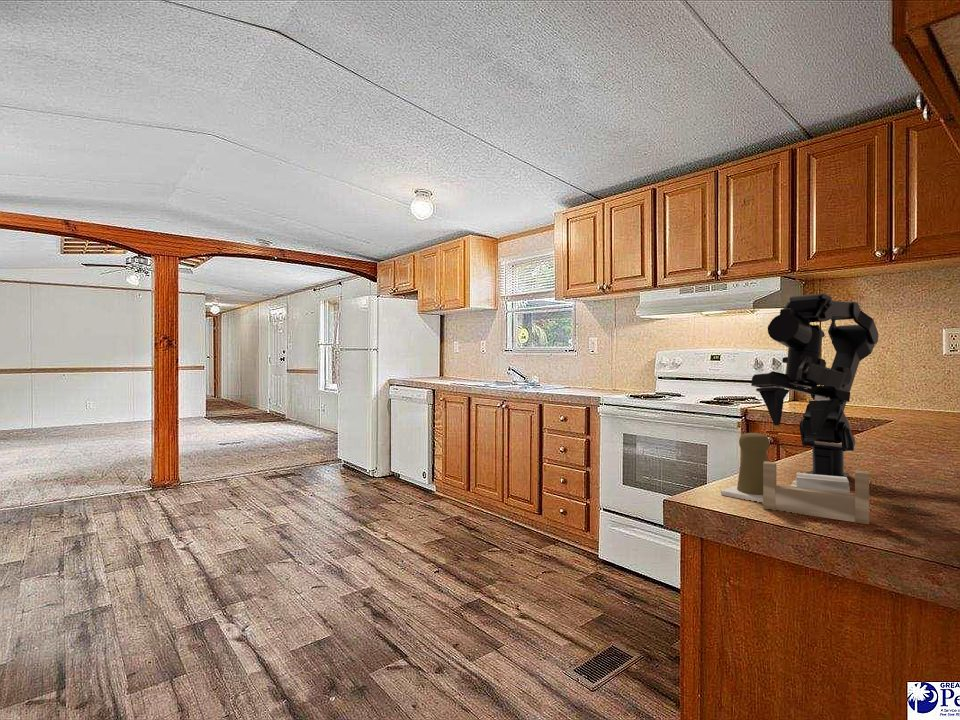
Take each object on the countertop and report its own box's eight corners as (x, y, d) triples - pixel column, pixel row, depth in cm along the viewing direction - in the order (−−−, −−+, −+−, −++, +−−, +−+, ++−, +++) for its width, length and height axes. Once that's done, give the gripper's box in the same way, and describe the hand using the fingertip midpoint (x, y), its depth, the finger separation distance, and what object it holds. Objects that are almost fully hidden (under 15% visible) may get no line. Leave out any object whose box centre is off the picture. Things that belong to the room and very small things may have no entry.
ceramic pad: (741, 487, 106) (741, 483, 106) (787, 495, 99) (787, 491, 99) (720, 494, 101) (720, 490, 101) (767, 504, 94) (767, 499, 94)
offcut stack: (793, 490, 103) (793, 471, 103) (849, 497, 97) (849, 477, 97) (790, 496, 98) (790, 476, 98) (848, 504, 93) (848, 483, 93)
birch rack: (765, 506, 93) (764, 461, 93) (869, 521, 84) (868, 471, 84) (763, 508, 91) (763, 463, 91) (869, 524, 82) (869, 473, 82)
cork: (732, 491, 100) (731, 433, 100) (742, 485, 104) (742, 430, 104) (767, 497, 96) (766, 436, 96) (776, 490, 100) (776, 433, 100)
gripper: (796, 339, 98) (788, 422, 95) (878, 359, 101) (872, 439, 99) (753, 346, 108) (745, 420, 106) (829, 364, 112) (822, 437, 110)
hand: (796, 429), depth 105 cm, fingers open, 9 cm apart
